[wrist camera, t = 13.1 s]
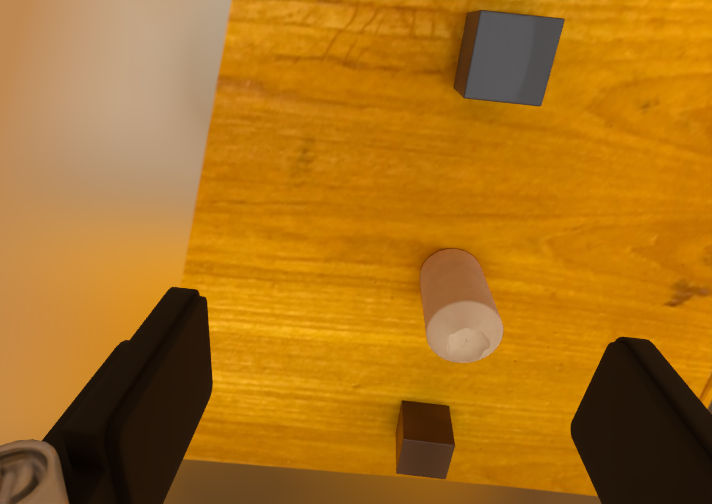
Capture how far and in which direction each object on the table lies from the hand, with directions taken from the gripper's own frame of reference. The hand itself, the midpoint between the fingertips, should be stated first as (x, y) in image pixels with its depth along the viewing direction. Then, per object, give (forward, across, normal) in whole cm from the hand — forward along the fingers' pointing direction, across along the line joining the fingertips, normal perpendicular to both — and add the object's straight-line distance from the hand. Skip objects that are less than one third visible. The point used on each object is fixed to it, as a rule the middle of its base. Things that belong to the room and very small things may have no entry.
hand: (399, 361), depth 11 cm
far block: (+26, -8, +31) cm, 41 cm away
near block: (+27, -7, -5) cm, 28 cm away
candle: (+27, -8, +13) cm, 31 cm away
